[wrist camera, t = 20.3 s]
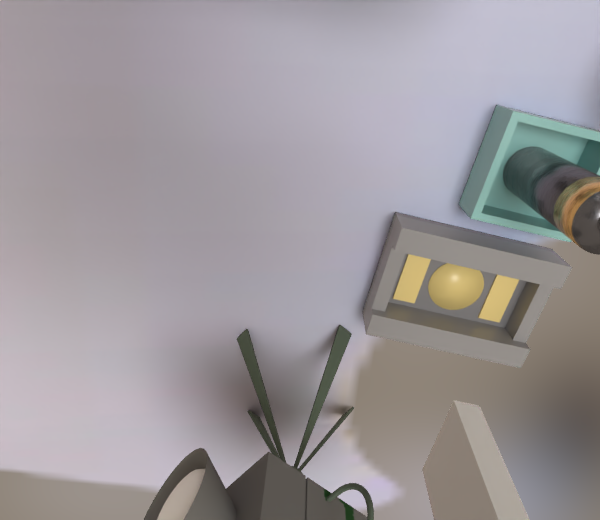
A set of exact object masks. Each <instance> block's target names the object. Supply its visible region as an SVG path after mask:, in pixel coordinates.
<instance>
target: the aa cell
mask: <svg viewBox="0 0 600 520" xmlns="http://www.w3.org/2000/svg"><path fill="white" fill-rule="evenodd" d="M503 181H504V184H505V186H506V187H507V189H508V190H509V191H510V192H512V193H513V194H514V195H516V196H517V197H518V198H519V199H521V200H522V201H523V202H524V203H526V204H527V205H528V206H529V207H531V208H532V209H533V210H534V211H536V212H537V213H538V214H540V215H541V216H542V217H543V218H545V219H546V220H547V221H548V222H550V223H551V224H552V225H553V226H555V227H556V228H557V229H558V230H560V231H561V232H562V233H563V234H564V235H565V236H567V237H568V238H569V239H571V240H572V241H573V242H574V243H576V244H577V245H578V246H579V247H581V248H582V249H584V250H585V251H587V252H590V253H593V254H600V176H599V175H597V174H595V173H593V172H591V171H589V170H587V169H585V168H583V167H581V166H578V165H576V164H574V163H572V162H570V161H568V160H566V159H564V158H562V157H560V156H558V155H556V154H554V153H552V152H549V151H547V150H545V149H543V148H541V147H536V146H530V147H525V148H522V149H520V150H518V151H517V152H515V153H514V154H513V155H512V156H511V157H510V158H509V159H508V161H507V162H506V164H505V166H504V169H503Z"/></svg>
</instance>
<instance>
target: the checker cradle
mask: <svg viewBox="0 0 600 520" xmlns="http://www.w3.org/2000/svg"><path fill="white" fill-rule="evenodd" d="M571 269H572V267H571V266H570V265H569V264H568V263H567V262H566V261H564V260H563V259H562V258H561V257H560V256H559V255H558V254H557V253H555V252H554V251H553V250H552V249H550V248H546V247H542V246H537V245H533V244H529V243H524V242H520V241H516V240H512V239H507V238H503V237H499V236H495V235H490V234H486V233H482V232H478V231H473V230H469V229H465V228H461V227H456V226H452V225H448V224H444V223H439V222H435V221H431V220H427V219H422V218H418V217H414V216H410V215H405V214H401V213H397V212H395V214H394V217H393V221H392V224H391V227H390V230H389V233H388V236H387V239H386V242H385V245H384V248H383V251H382V254H381V257H380V260H379V263H378V266H377V269H376V272H375V275H374V278H373V282H372V285H371V288H370V291H369V294H368V297H367V300H366V303H365V306H364V309H363V318H364V324H365V331H366V334H367V335H372V336H376V337H381V338H385V339H390V340H395V341H399V342H404V343H408V344H413V345H417V346H422V347H426V348H431V349H436V350H440V351H445V352H449V353H455V354H458V355H463V356H468V357H472V358H477V359H481V360H486V361H490V362H495V363H500V364H504V365H509V366H513V367H518V368H521V367H522V365H523V363H524V361H525V359H526V357H527V355H528V353H529V351H530V348H529V347H528V346H527V344H526V342H527V340H528V337H529V336H530V333H531V331H532V329H533V328H534V325H535V324H536V322H537V320H538V317H539V316H540V314H541V311H542V310H543V308H544V306H545V304H546V302H547V300H548V298H549V296H550V294H551V292H552V290H553V288H558V289H561V288H562V286H563V284H564V282H565V280H566V279H567V277H568V275H569V273H570V271H571Z"/></svg>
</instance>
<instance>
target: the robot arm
mask: <svg viewBox="0 0 600 520" xmlns="http://www.w3.org/2000/svg"><path fill="white" fill-rule="evenodd" d="M422 471H423V474H424V478H425V483H426V487H427V491H428V495H429V500H430V504H431V508H432V512H433V516H434V520H529V518H528V515H527V513H526V511H525V508H524V506H523V504H522V502H521V500H520V497H519V495H518V492H517V490H516V488H515V486H514V484H513V481H512V479H511V477H510V474H509V472H508V470H507V467H506V465H505V464H504V461H503V458H502V457H501V454H500V452H499V449H498V447H497V445H496V442H495V440H494V438H493V435H492V433H491V431H490V429H489V427H488V424H487V422H486V420H485V417H484V415H483V413H482V410H481V408H480V406H478V405H473V404H468V403H463V402H459V401H453V404H452V406H451V408H450V410H449V412H448V414H447V416H446V419H445V421H444V423H443V425H442V428H441V430H440V432H439V434H438V436H437V438H436V441H435V443H434V445H433V447H432V449H431V452H430V454H429V456H428V458H427V460H426V462H425V465H424V467H423V469H422Z"/></svg>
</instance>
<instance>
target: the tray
mask: <svg viewBox="0 0 600 520" xmlns="http://www.w3.org/2000/svg"><path fill="white" fill-rule="evenodd" d="M530 146H536V147H541V148H543V149H545V150H547V151H549V152H552V153H554V154H556V155H558V156H560V157H562V158H564V159H566V160H568V161H570V162H572V163H574V164H576V165H578V166H581V167H583V168H585V169H587V170H589V171H591V172H593V173H595V174H597V175H599V176H600V131H598V130H595V129H591V128H587V127H583V126H579V125H575V124H571V123H567V122H563V121H559V120H555V119H551V118H547V117H543V116H539V115H535V114H531V113H527V112H523V111H519V110H515V109H511V108H507V107H503V106H499V105H496V108H495V110H494V113H493V115H492V118H491V121H490V123H489V126H488V129H487V131H486V134H485V136H484V139H483V142H482V144H481V147H480V150H479V152H478V155H477V157H476V160H475V163H474V165H473V168H472V170H471V173H470V176H469V178H468V181H467V184H466V186H465V189H464V191H463V194H462V197H461V199H460V202H459V205H460V207H461V208H462V209H463V210H464V211H465V212H466V214H467V215H468V216H469V217H470V218H471V219H475V220H479V221H483V222H487V223H492V224H496V225H500V226H504V227H508V228H513V229H517V230H521V231H525V232H530V233H534V234H538V235H542V236H547V237H551V238H555V239H559V240H563V241H568V242H571V241H572V240H571V239H569V238H568V237H567V236H565V235H564V234H563V233H562V232H561V231H560V230H558V229H557V228H556V227H555V226H553V225H552V224H551V223H550V222H548V221H547V220H546V219H545V218H543V217H542V216H541V215H540V214H538V213H537V212H536V211H534V210H533V209H532V208H531V207H529V206H528V205H527V204H526V203H524V202H523V201H522V200H521V199H519V198H518V197H517V196H516V195H514V194H513V193H512V192H510V191H509V190H508V189H507V187H506V186H505V184H504V181H503V169H504V166H505V164H506V162H507V161H508V159H509V158H510V157H511V156H512V155H513V154H514V153H515V152H517V151H518V150H520V149H522V148H525V147H530Z"/></svg>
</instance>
